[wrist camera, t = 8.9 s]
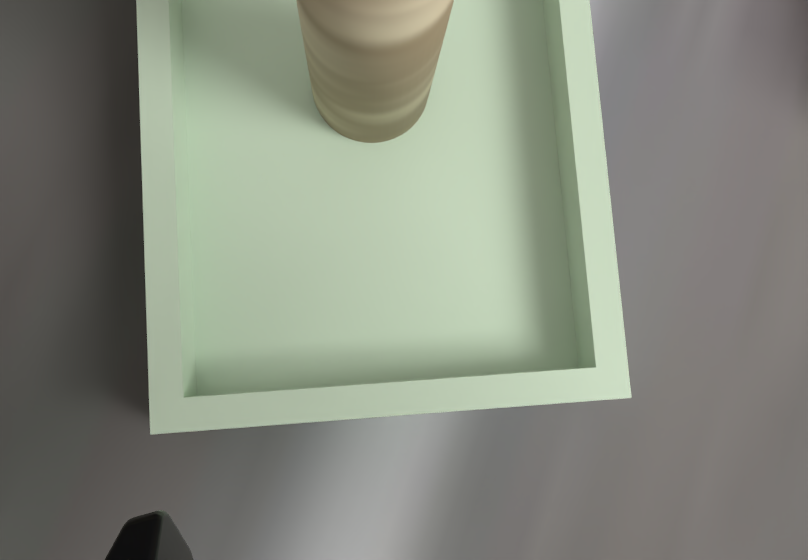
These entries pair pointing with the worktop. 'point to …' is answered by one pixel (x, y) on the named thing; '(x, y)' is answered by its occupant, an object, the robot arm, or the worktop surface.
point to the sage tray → (373, 224)
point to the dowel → (372, 62)
